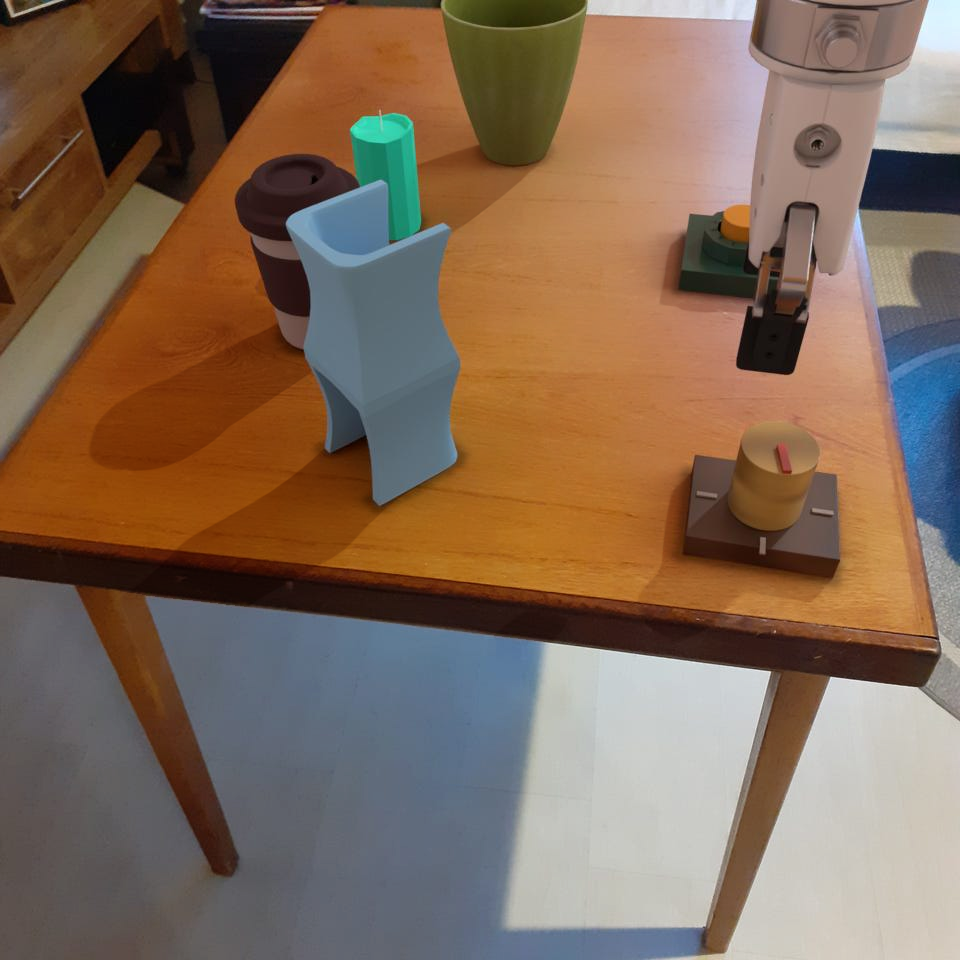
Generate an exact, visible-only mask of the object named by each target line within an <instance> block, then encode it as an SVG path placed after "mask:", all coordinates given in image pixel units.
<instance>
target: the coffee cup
mask: <svg viewBox="0 0 960 960" xmlns="http://www.w3.org/2000/svg"><path fill="white" fill-rule="evenodd" d="M357 188H360V185H359V182H358V181H357V178H356V176H355V175H353V174H352V173H351V172H350V171H348V170H346V169H345V168H342V167H340V166H337V165H336V164H335V163H334V162H333V161H332V160H330V159H329V158H326V157H324V156H321V155H318V154H312V153H292V154H291V153H290V154H285V155H281V156H277V157H273V158H271V159H269V160H266V161H264V162H263V163H261V164H260V165H259V166H257V167H256V168H255V169H254V171H253V172H252V173H251V175H250V178H248V179H246V180H245V181H244V182H243V183H242V184H241V185H240V186H239V188H238V189H237V191H236V193H235V196H234V206H235V210H236V214H237V218H238V221H239V224H241V226H242V228H244V230H246V231H247V232H249V233H250V246H251V248H252V251H253V254H254V258H255V261H256V264H257V267H258V270H259V274H260V278H261V280H262V282H263V286H264V289H265V293H266V296H267V298H268V300H269V302H270V304H271V305H272V306H273V310H274V313H275V317H276V319H277V322H278V325H279V328H280V332H281V334H282V336H283V338H284V339H285V341H286V342H287V343H289V344H290V345H291V346H293V347H294V348H297V349H300V350H303V351H304V348H303V347H304V342H305V338H306V334H307V330H308V325H309V320H310V309H311V298H310V287H309V283H308V279H307V275H306V272H305V270H304V267H303V264H302V261H301V259H300V257H299V254H298V252H297V250H296V247H295V245H294V243H293V241H292V239H291V237H290V234H289V232H288V230H287V227H286V222H287V220H288V218H289V217H290V216H291V215H292V214H294V213H296V212H298V211H301V210H303V209H305V208H308V207H310V206H313V205H316V204H318V203H321V202H323V201H326V200H329V199H331V198H334V197H337V196H339V195H342V194H344V193H347V192H350V191H352V190H355V189H357Z"/></svg>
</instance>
